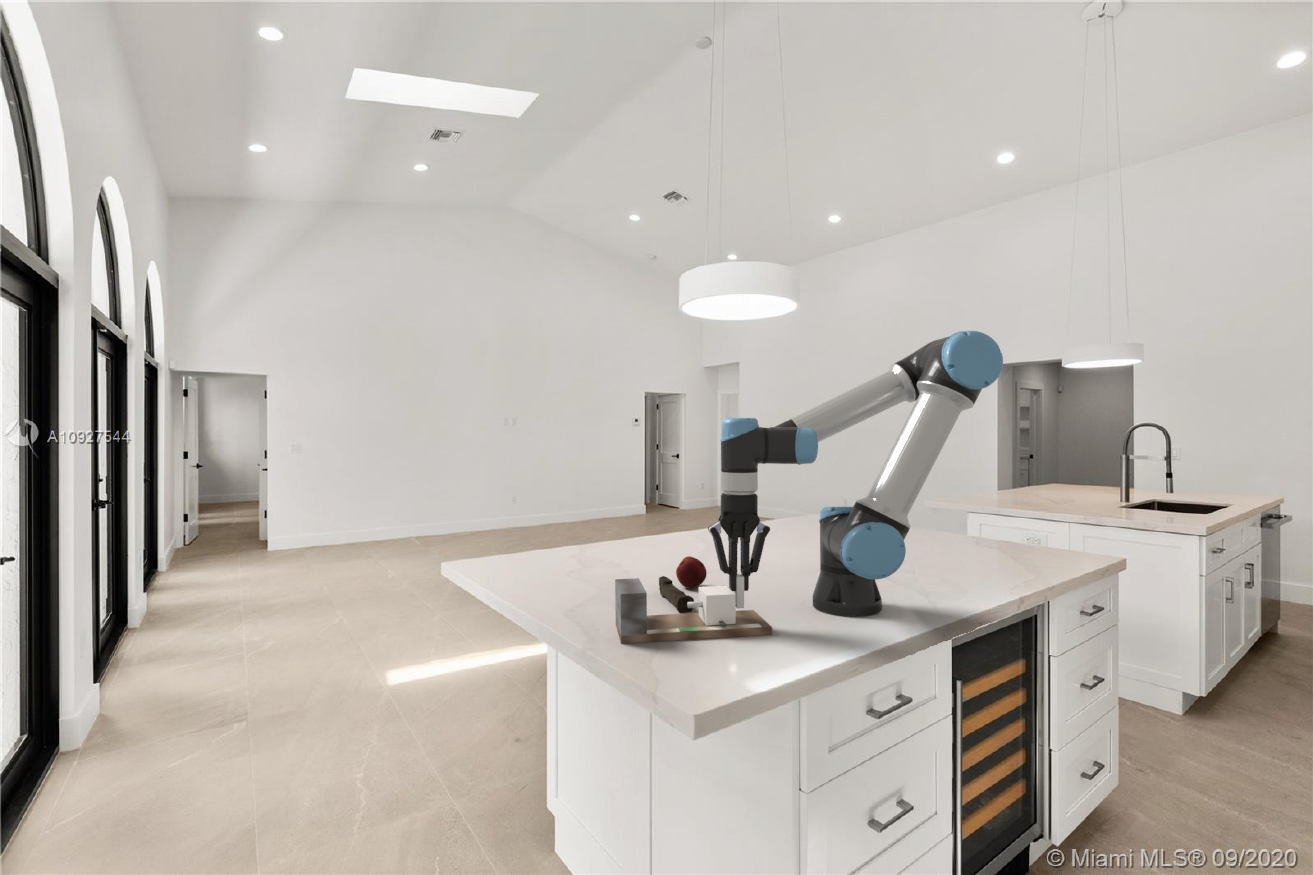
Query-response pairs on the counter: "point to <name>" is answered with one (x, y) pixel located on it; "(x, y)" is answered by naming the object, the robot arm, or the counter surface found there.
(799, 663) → the counter surface
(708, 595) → the gauge slider
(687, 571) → the apple
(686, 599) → the hand tool
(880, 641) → the counter surface
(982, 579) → the counter surface
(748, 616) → the gauge board
